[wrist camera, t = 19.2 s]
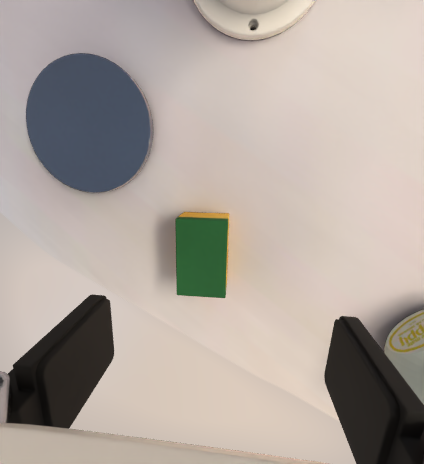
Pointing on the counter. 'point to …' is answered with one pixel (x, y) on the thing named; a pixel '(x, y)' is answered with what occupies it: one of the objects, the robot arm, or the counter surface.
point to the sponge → (202, 254)
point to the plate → (89, 123)
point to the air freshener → (409, 351)
